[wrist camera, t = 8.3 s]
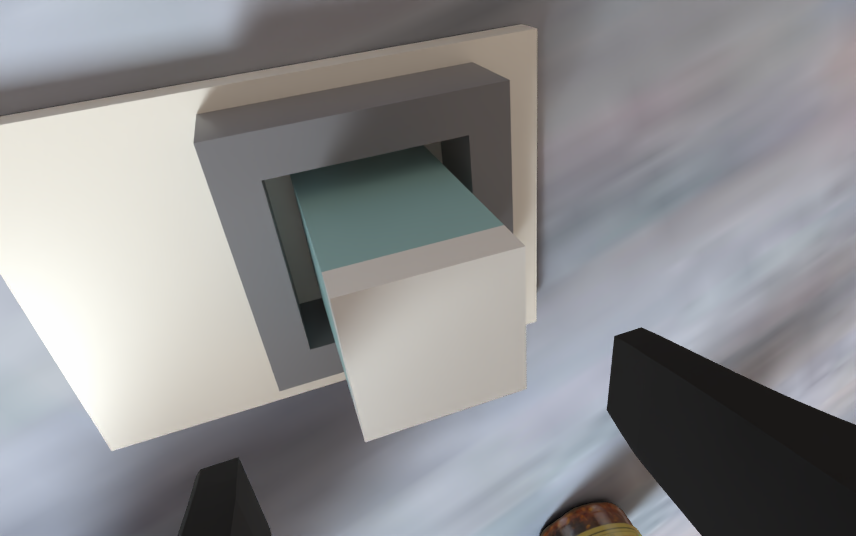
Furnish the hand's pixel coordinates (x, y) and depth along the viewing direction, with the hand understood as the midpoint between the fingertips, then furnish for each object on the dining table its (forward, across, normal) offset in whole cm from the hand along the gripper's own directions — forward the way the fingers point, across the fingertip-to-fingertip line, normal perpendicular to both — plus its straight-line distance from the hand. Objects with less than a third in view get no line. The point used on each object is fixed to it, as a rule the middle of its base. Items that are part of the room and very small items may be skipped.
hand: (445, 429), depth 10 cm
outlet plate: (+10, +1, +1) cm, 10 cm away
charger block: (+9, -1, 0) cm, 9 cm away
